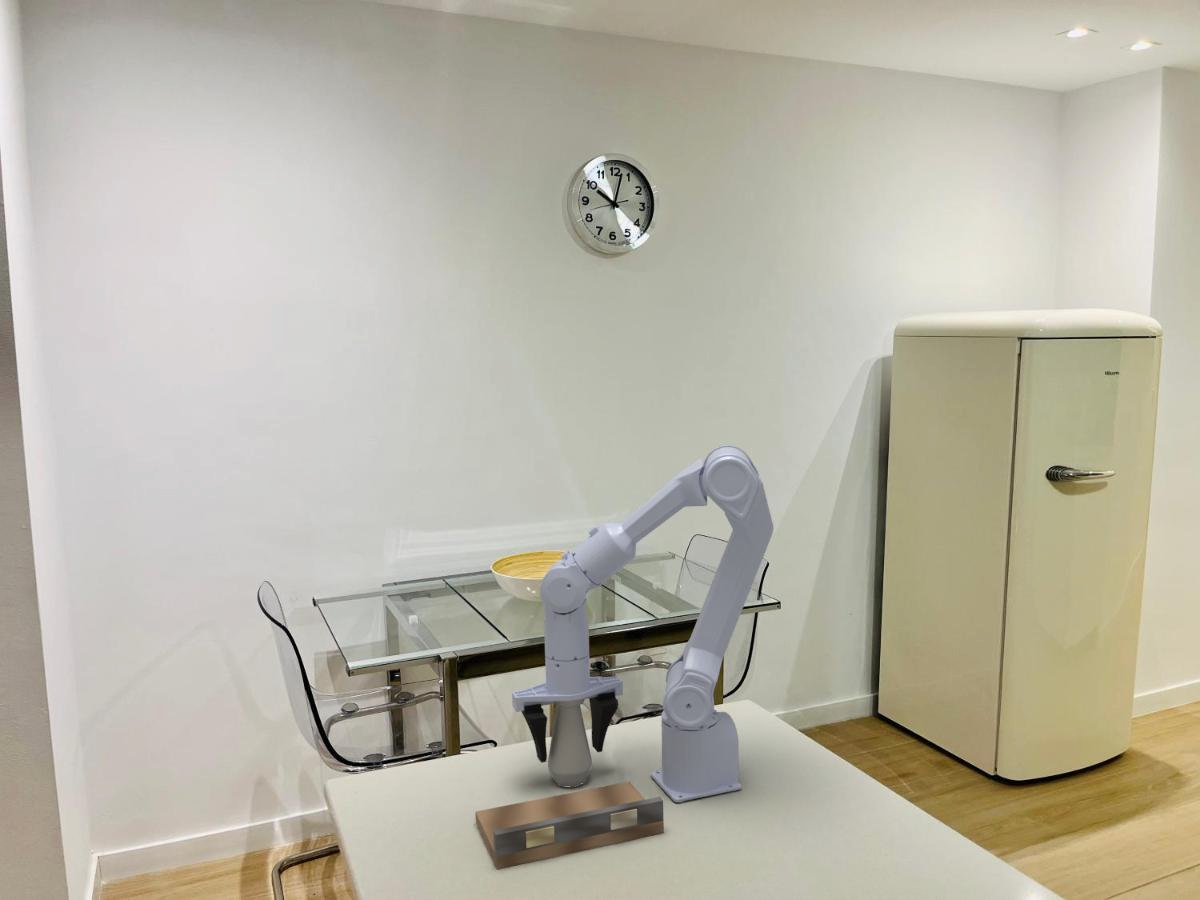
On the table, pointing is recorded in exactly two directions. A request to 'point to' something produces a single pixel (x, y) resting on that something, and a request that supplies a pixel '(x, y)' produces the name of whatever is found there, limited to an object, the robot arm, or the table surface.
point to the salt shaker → (569, 745)
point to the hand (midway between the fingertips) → (569, 754)
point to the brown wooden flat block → (568, 823)
